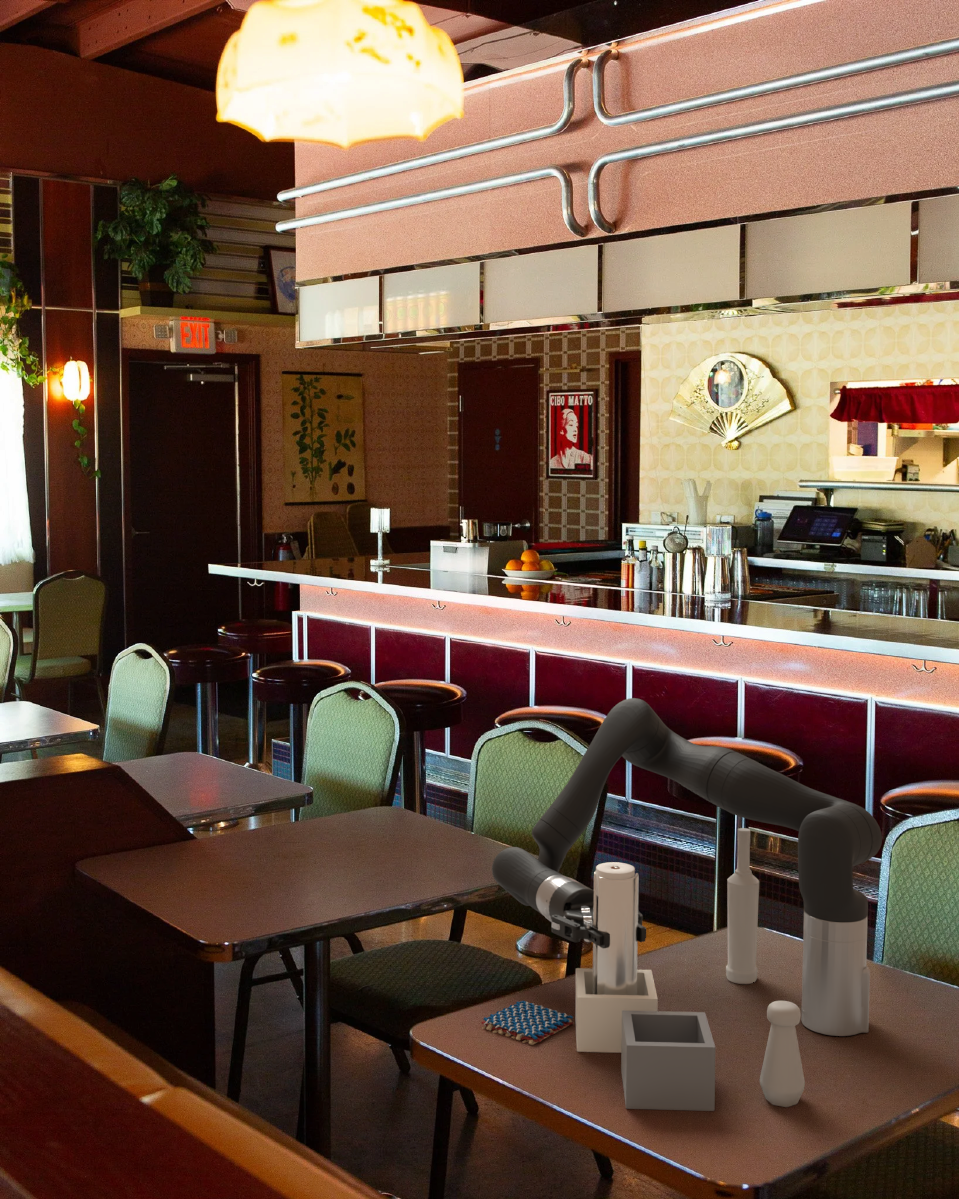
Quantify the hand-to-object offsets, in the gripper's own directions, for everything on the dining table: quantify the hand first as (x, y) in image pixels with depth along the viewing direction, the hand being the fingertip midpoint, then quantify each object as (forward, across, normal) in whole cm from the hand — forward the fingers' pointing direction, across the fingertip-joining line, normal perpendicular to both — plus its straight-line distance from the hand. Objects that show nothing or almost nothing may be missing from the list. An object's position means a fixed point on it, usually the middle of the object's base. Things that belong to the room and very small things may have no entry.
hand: (625, 938), depth 188 cm
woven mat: (-11, -10, +16) cm, 22 cm away
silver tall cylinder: (-3, 0, +15) cm, 15 cm away
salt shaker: (+24, +10, +16) cm, 30 cm away
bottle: (-13, +31, +16) cm, 37 cm away
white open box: (-3, 0, +16) cm, 16 cm away
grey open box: (+15, -3, +16) cm, 22 cm away
